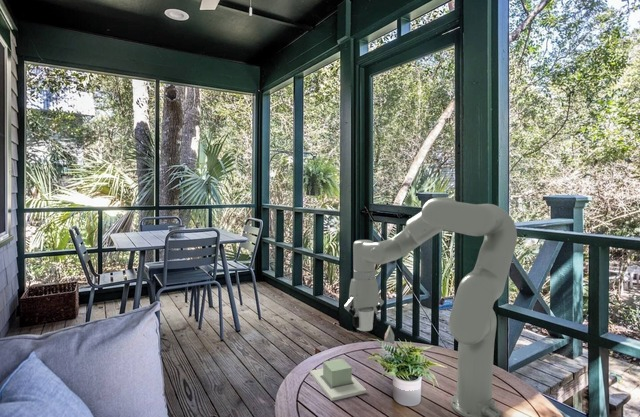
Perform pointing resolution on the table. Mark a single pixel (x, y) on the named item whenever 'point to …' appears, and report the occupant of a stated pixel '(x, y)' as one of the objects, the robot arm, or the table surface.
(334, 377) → the sage block
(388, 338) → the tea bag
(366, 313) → the white cylinder
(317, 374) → the cream flat rectangular slab
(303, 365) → the table surface
